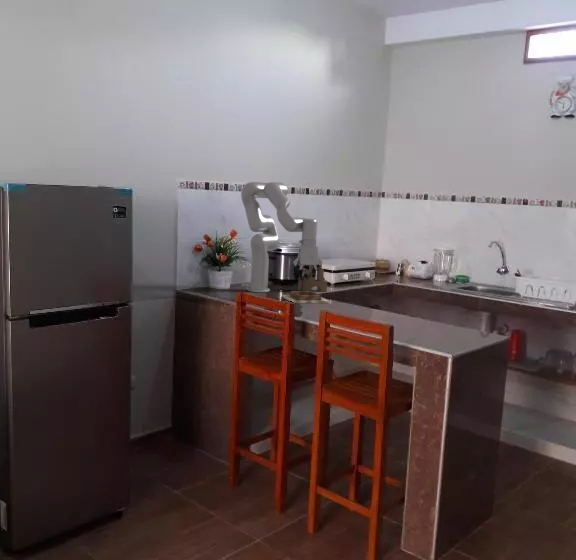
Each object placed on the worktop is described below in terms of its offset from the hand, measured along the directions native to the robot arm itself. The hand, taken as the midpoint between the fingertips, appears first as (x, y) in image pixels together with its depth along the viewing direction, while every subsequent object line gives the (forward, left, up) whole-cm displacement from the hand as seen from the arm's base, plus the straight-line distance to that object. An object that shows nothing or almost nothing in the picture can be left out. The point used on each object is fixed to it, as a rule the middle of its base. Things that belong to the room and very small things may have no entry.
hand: (306, 276), depth 329 cm
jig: (0, 0, -12) cm, 12 cm away
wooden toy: (+15, +28, -12) cm, 34 cm away
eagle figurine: (0, +2, -3) cm, 3 cm away
